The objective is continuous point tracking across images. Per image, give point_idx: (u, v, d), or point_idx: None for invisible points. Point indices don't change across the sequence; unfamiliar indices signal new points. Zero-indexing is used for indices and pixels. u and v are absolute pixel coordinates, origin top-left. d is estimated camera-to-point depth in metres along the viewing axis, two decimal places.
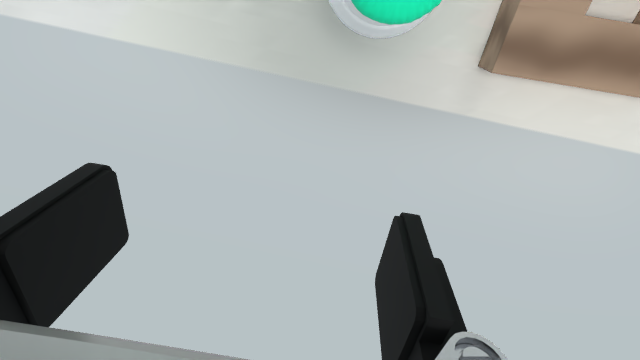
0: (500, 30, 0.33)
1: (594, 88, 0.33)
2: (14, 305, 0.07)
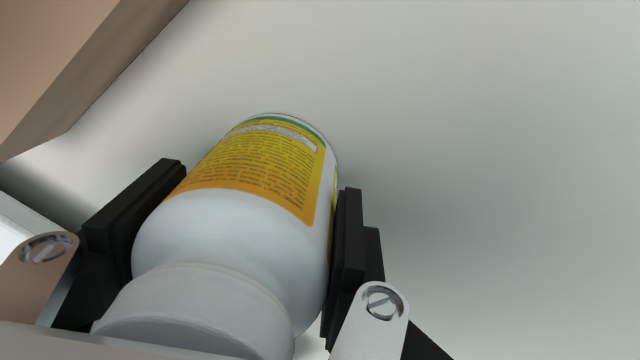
0: None
1: None
2: (116, 284, 0.08)
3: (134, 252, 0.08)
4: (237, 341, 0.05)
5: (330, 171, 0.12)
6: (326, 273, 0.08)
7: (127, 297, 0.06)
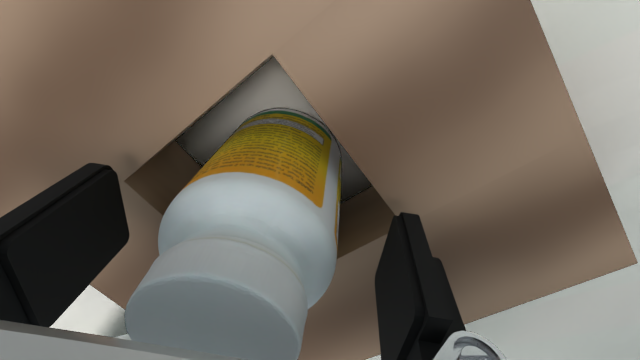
0: None
1: None
2: (15, 305, 0.07)
3: (162, 230, 0.09)
4: (261, 298, 0.06)
5: (335, 162, 0.13)
6: (334, 250, 0.09)
7: (164, 263, 0.07)
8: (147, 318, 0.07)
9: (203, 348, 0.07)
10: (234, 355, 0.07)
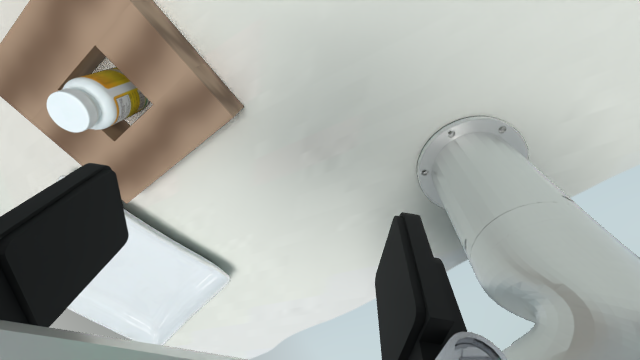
0: None
1: (18, 20, 0.32)
2: (14, 305, 0.07)
3: None
4: (74, 97, 0.29)
5: None
6: (111, 101, 0.32)
7: (55, 92, 0.30)
8: (51, 105, 0.30)
9: (66, 115, 0.30)
10: (74, 117, 0.30)
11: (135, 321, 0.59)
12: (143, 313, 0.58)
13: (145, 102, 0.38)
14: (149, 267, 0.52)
